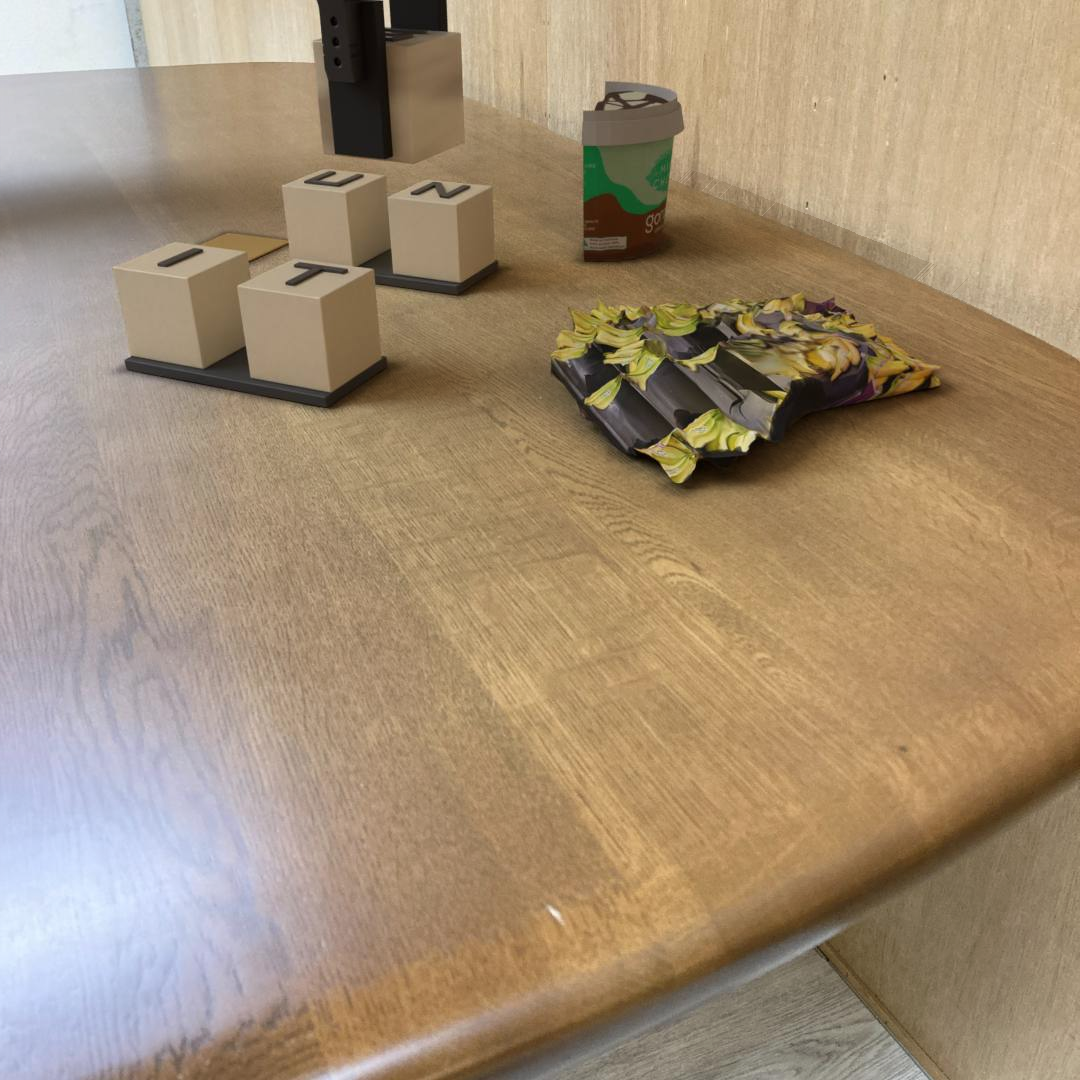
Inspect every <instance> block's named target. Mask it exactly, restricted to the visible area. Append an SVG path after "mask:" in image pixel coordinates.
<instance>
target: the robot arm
mask: <svg viewBox="0 0 1080 1080" xmlns="http://www.w3.org/2000/svg"><path fill="white" fill-rule="evenodd" d="M316 3H317V6H318V7H317V8H318V14H319V24H320V36H321V38H322V44H323V46H322V47H323V54H324V56H323V57H324V68H325V72H326V75H327V78H328V86H329V97H330V107H331V118H332V129H333V140H334V151H335V154H338V155H348V156H357V157H366V158H375V159H388V158H390V157H393V149H392V134H391V119H390V104H389V89H388V74H387V60H386V35H385V27H386V23H385V21H386V20H385V7H384V0H316ZM388 4H389V5H388V6H389V22H390V27H391V28H407V29H424V30H428V31H444V32H449V25H448V23H449V22H448V1H447V0H388Z"/></svg>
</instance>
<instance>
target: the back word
mask: <svg viewBox="0 0 1080 1080" xmlns="http://www.w3.org/2000/svg"><path fill="white" fill-rule="evenodd" d="M493 189H494V188H493V186H492V185H486V184H485V185H483V184H474V183H464V182H455V181H444V180H435V179H424V180H421V181H419V182H417V183H415V184H413V185H410V186H409V187H407V188H404V189H402V190H399V191H397V192H395V193H393V194H391V195H388V184H387V175H385V174H377V173H368V172H358V171H349V170H348V171H347V170H338V169H330V168H329V169H327V168H323V169H320V170H317V171H315V172H313V173H310V174H307V175H305V176H302V177H300V178H297V179H295V180H292V181H290V182H287V183H284V184H282V185H281V192H282V193H281V194H282V199H283V207H284V215H285V223H286V224H285V225H286V231H287V232H286V233H287V239H280V238H272V237H264V236H256V235H248V234H241V233H234V232H227V233H224V234H222V235H220V236H217V237H215V238H212V239H209V240H207V241H205V242H202V243H201V244H199V245H201V246H208V247H215V248H223V249H230V250H237V251H244V252H247V254H248V261H249V262H251V261H253V260H256V259H258V258H260V257H262V256H264V255H266V254H269V253H271V252H273V251H276V250H277V249H279V248H282V247H284V246H286V245H288V250H289V256H290V260H292V259H294V258H296V259H303V260H310V261H317V262H325V263H332V264H339V265H347V266H354V267H361V268H369V269H374V276H375V284H378V285H384V286H393V287H399V288H405V289H406V288H407V289H412V290H413V289H414V290H419V291H420V290H421V291H427V292H434V293H441V294H448V295H455V296H457V295H460V294H461V293H463V292H464V291H466V290H467V289H469V288H471V287H472V286H474V285H475V284H477V283H478V282H480V281H481V280H483V279H485V278H486V277H487V276H489V275H490V274H492V273H494V272H495V271H497V270H498V269H499V259H496V257H495V224H494V221H495V219H494V191H493Z"/></svg>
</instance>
